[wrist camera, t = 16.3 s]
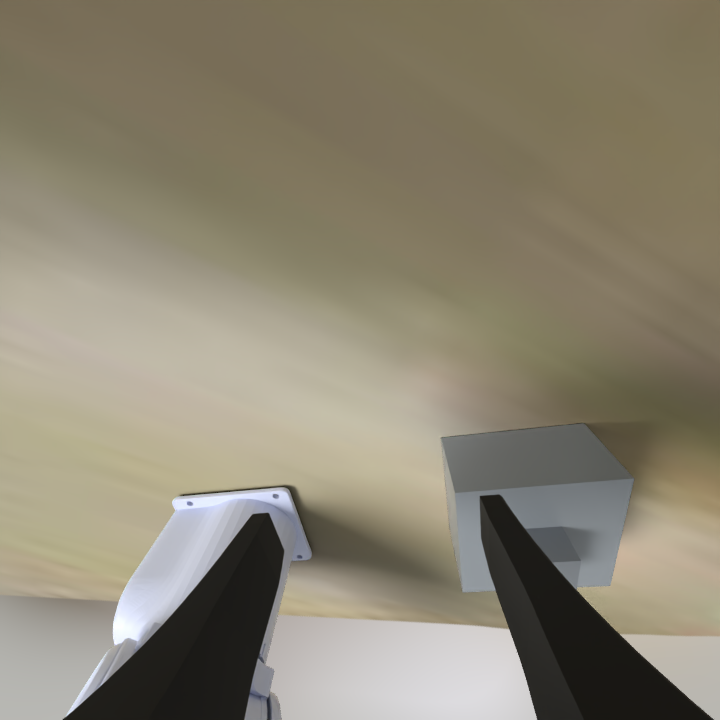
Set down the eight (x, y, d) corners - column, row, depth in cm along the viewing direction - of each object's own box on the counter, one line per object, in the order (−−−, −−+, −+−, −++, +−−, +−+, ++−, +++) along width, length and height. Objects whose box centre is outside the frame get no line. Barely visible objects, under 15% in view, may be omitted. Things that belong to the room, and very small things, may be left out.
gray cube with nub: (449, 528, 26) (469, 627, 20) (441, 437, 22) (463, 525, 16) (571, 520, 25) (632, 622, 19) (584, 423, 21) (664, 511, 15)
